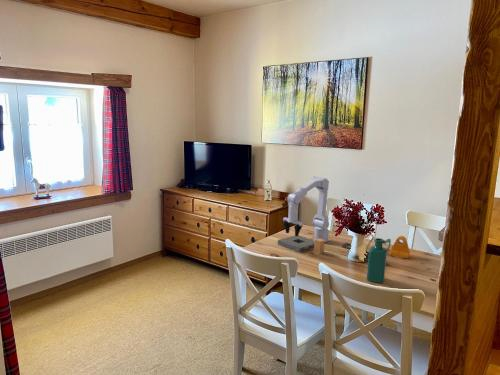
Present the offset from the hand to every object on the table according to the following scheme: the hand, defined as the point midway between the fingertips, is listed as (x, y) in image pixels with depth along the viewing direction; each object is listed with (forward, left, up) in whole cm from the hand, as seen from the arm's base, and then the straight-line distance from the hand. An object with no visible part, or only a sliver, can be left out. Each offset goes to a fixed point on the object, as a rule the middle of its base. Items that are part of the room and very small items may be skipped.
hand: (292, 234), depth 235 cm
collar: (-10, -3, -10) cm, 15 cm away
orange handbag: (-46, +47, -10) cm, 67 cm away
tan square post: (-11, +13, -10) cm, 20 cm away
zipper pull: (-23, +36, -10) cm, 44 cm away
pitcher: (-3, +57, -10) cm, 58 cm away
